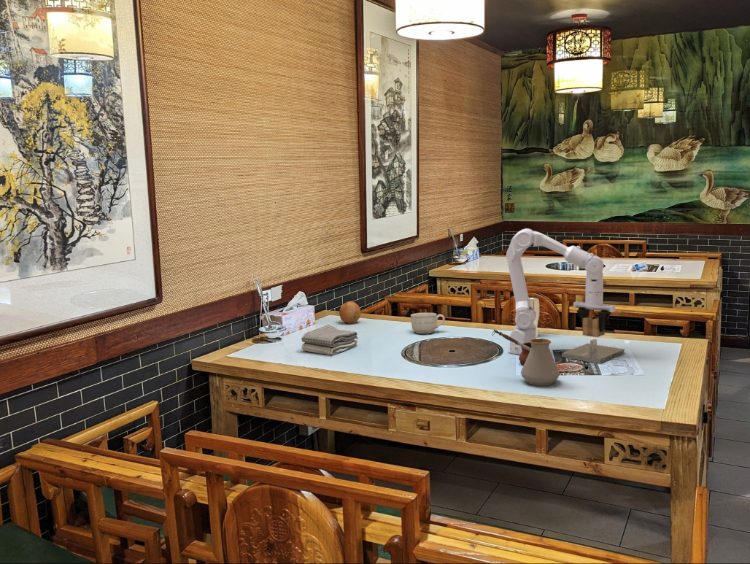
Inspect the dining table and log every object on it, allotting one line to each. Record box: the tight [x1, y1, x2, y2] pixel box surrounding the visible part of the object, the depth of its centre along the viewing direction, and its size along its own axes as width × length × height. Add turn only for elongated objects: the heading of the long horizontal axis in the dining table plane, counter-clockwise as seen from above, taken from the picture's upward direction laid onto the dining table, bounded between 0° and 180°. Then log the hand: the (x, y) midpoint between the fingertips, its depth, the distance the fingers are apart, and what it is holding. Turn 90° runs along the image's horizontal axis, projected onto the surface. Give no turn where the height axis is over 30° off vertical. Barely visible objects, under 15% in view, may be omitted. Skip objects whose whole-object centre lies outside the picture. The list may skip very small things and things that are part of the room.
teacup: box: [410, 312, 446, 335], centre depth 278 cm, size 14×11×8 cm
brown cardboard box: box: [582, 315, 606, 338], centre depth 233 cm, size 5×5×6 cm
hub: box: [561, 338, 625, 365], centre depth 234 cm, size 18×14×6 cm
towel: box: [301, 324, 359, 356], centre depth 256 cm, size 15×18×8 cm
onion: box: [338, 300, 362, 324], centre depth 303 cm, size 10×10×10 cm
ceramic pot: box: [518, 342, 560, 367], centre depth 225 cm, size 18×18×7 cm
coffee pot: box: [491, 329, 560, 387], centre depth 207 cm, size 21×12×15 cm, turn 56°
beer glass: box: [529, 297, 540, 339], centre depth 265 cm, size 7×7×15 cm
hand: (593, 330), depth 233 cm, fingers closed on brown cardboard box, 5 cm apart
